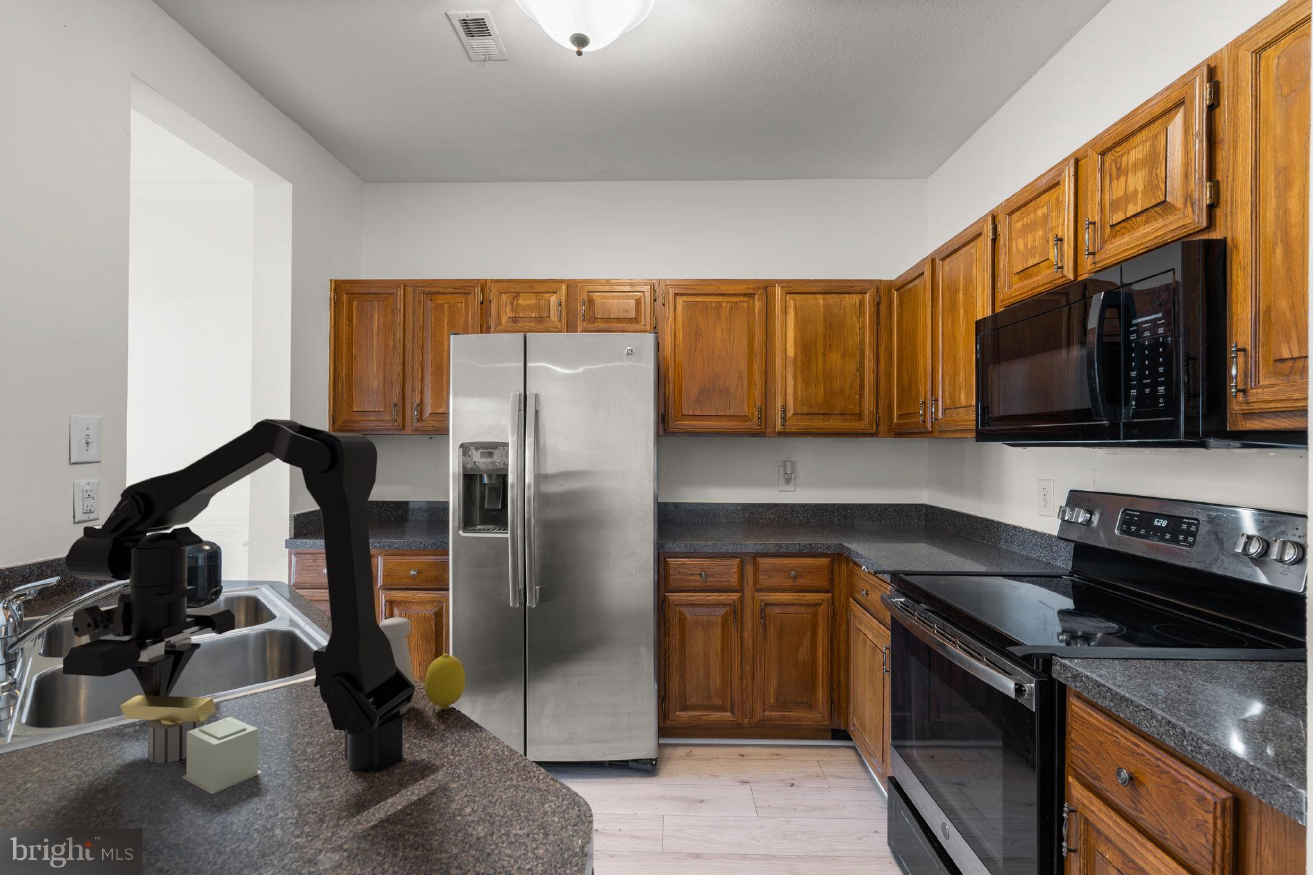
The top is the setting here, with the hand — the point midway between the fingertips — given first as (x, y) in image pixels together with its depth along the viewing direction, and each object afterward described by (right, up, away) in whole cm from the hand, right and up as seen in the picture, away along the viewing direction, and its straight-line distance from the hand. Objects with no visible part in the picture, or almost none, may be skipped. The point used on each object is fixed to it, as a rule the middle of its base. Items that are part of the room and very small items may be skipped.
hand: (157, 707), depth 81 cm
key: (+5, -4, -2) cm, 7 cm away
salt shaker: (+25, -6, +12) cm, 28 cm away
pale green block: (+14, -4, -8) cm, 16 cm away
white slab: (+9, -5, -5) cm, 11 cm away
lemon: (+32, -6, +13) cm, 35 cm away
